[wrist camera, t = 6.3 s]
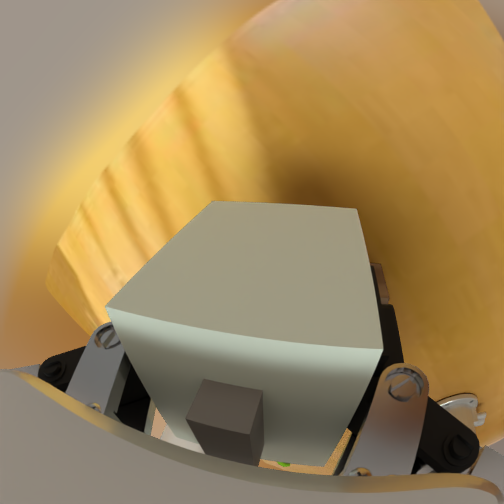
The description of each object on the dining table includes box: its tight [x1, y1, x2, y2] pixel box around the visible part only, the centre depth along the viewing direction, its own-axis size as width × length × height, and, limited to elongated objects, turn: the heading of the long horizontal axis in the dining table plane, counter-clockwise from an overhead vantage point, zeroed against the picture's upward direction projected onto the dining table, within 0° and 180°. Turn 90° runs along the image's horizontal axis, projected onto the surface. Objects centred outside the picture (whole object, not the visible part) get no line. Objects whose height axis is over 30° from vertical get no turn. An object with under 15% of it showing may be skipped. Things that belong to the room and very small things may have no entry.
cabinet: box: [105, 201, 383, 467], centre depth 8 cm, size 5×6×7 cm
